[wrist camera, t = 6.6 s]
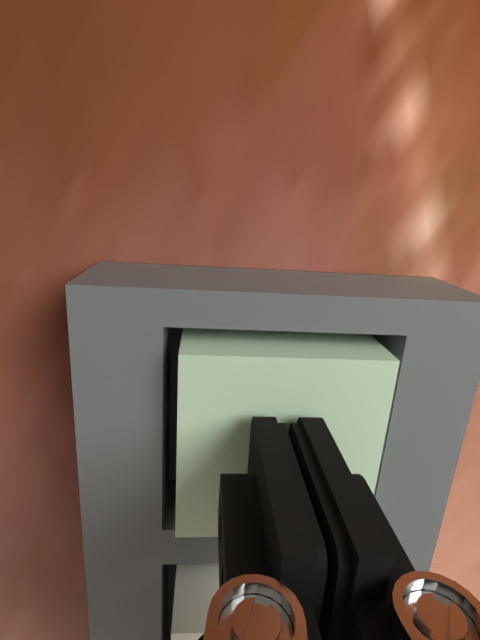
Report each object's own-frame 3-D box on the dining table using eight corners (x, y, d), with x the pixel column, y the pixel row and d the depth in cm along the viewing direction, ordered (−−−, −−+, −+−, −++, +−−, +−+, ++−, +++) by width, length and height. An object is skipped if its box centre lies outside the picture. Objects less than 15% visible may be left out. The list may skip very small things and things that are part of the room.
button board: (100, 261, 12) (65, 284, 9) (433, 277, 13) (498, 302, 10) (120, 744, 18) (103, 847, 15) (339, 732, 19) (361, 828, 16)
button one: (183, 325, 11) (178, 356, 9) (367, 332, 11) (402, 363, 9) (180, 483, 12) (174, 540, 10) (342, 483, 13) (367, 538, 11)
